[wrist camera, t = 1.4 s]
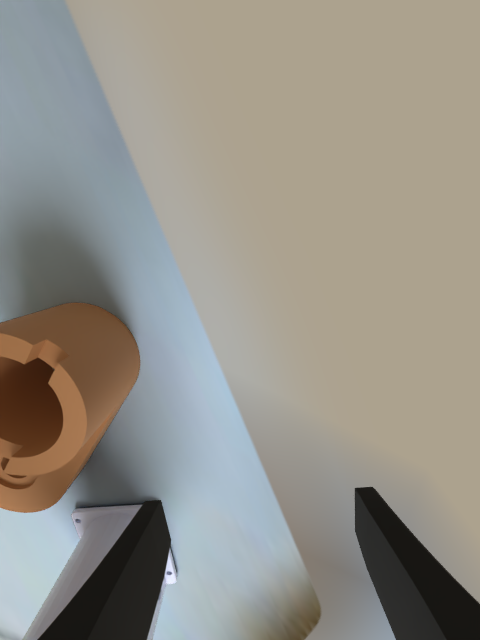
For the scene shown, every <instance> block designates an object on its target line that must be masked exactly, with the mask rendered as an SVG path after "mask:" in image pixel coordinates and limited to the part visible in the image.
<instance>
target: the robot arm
mask: <svg viewBox="0 0 480 640" xmlns="http://www.w3.org/2000/svg"><path fill="white" fill-rule="evenodd" d="M71 517H72V519H73V522H74V525H75V527H76V530H77V533H78V536H79V538H80V541H79V543H78V545H77V546H76V548H75V550H74V552H73V553H72V555H71V557H70V558H69V560H68V562H67V564H66V565H65V567H64V569H63V570H62V572H61V574H60V576H59V577H58V579H57V581H56V583H55V584H54V586H53V588H52V589H51V591H50V593H49V595H48V596H47V598H46V600H45V602H44V603H43V605H42V607H41V608H40V610H39V612H38V614H37V615H36V617H35V619H34V621H33V622H32V624H31V626H30V627H29V629H28V631H27V633H26V634H25V636H24V638H23V639H22V640H152V639H153V635H154V631H155V627H156V623H157V619H158V615H159V611H160V607H161V603H162V599H163V595H164V591H165V587H166V584H174V583H176V581H177V573H176V569H175V565H174V561H173V557H172V553H171V549H170V544H171V538H170V534H169V530H168V526H167V522H166V518H165V514H164V510H163V506H162V502H161V500H157V501H145V502H144V503H143V505H127V506H111V507H95V508H78V509H75V510H74V511H73V513H72V514H71ZM355 532H356V535H357V538H358V542H359V545H360V548H361V551H362V554H363V558H364V561H365V564H366V567H367V570H368V572H369V575H370V577H371V579H372V582H373V584H374V587H375V589H376V592H377V594H378V596H379V599H380V602H381V604H382V606H383V609H384V611H385V614H386V616H387V618H388V621H389V624H390V626H391V628H392V631H393V633H394V635H395V638H396V640H480V604H479V603H478V602H477V601H476V600H475V599H474V598H473V597H472V596H471V595H470V594H469V593H468V592H467V591H466V590H465V589H464V588H463V587H462V586H461V585H460V584H459V583H458V582H457V581H456V580H455V579H454V578H453V577H452V576H451V574H450V573H449V572H448V571H447V570H446V569H445V568H444V567H443V566H442V565H441V564H440V563H439V562H438V561H437V560H436V559H435V558H434V557H433V556H432V554H431V553H430V552H429V551H428V550H427V549H426V548H425V547H424V546H423V545H422V544H421V542H420V541H418V539H417V538H416V537H415V536H414V535H413V533H412V532H411V531H410V530H409V529H408V528H407V527H406V526H405V524H404V523H403V522H402V521H401V520H400V519H399V518H398V516H397V515H396V514H395V513H394V512H393V510H392V509H391V508H390V507H389V506H388V504H387V503H386V502H385V501H384V500H383V498H382V497H381V496H380V495H379V493H378V492H377V491H376V490H375V489H374V488H373V487H364V488H355Z"/></svg>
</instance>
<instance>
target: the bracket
mask: <svg viewBox="0 0 480 640" xmlns="http://www.w3.org/2000/svg"><path fill="white" fill-rule="evenodd" d="M52 368H54V369H55V370H53V369H52ZM139 370H140V355H139V350H138V346H137V344H136V341H135V339H134V337H133V335H132V334H131V332H130V331H129V329H128V328H127V327H126V326H125V325H124V324H123V323H122V322H121V321H120V320H119V319H118V318H117V317H116V316H114V315H113V314H111V313H109V312H108V311H106V310H104V309H102V308H100V307H98V306H95V305H91V304H86V303H66V304H62V305H58V306H55V307H52V308H48V309H45V310H42V311H38V312H35V313H32V314H28V315H25V316H22V317H18V318H15V319H12V320H8V321H5V322H2V323H0V508H3V509H6V510H10V511H15V512H24V513H27V512H37V511H42V510H45V509H47V508H49V507H51V506H53V505H54V504H55V503H57V502H58V501H59V500H60V499H61V497H62V496H63V495H64V493H65V492H66V491H67V489H68V488H69V487H70V485H71V484H72V483H73V481H74V480H75V479H76V477H77V476H78V475H79V473H80V472H81V471H82V469H83V468H84V466H85V465H86V463H87V461H88V460H89V458H90V456H91V455H92V453H93V451H94V450H95V448H96V446H97V445H98V443H99V442H100V440H101V438H102V437H103V435H104V433H105V432H106V430H107V428H108V427H109V425H110V423H111V422H112V420H113V419H114V417H115V415H116V414H117V412H118V410H119V409H120V407H121V405H122V404H123V402H124V400H125V399H126V397H127V396H128V394H129V392H130V391H131V389H132V387H133V386H134V384H135V382H136V380H137V378H138V375H139Z"/></svg>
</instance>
